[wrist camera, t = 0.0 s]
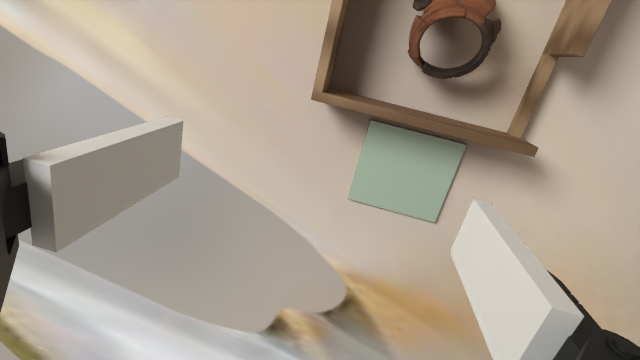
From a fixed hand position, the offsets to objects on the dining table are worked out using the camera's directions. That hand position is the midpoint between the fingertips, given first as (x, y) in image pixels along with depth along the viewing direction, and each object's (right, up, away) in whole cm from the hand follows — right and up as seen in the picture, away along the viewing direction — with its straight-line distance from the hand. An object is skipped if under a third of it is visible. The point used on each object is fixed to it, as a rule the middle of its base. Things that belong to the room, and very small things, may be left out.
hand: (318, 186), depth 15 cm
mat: (+11, +1, +28) cm, 31 cm away
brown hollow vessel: (+14, +20, +22) cm, 33 cm away
